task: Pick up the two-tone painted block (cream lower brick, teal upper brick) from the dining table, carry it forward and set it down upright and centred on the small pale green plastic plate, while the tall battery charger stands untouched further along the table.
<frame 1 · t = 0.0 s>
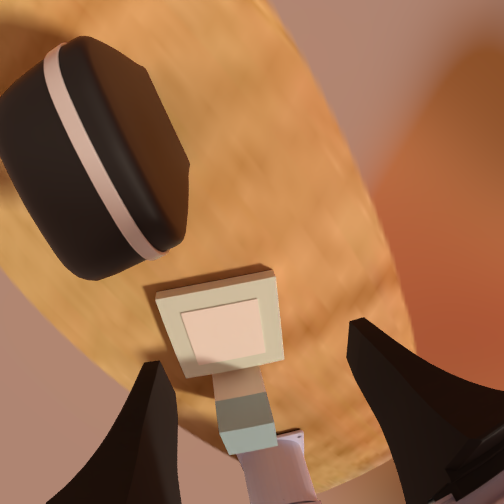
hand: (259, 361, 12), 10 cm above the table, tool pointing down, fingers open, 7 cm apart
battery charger: (138, 129, 16), on the table
plate: (224, 326, 23), on the table
brick stack: (239, 383, 27), on the table
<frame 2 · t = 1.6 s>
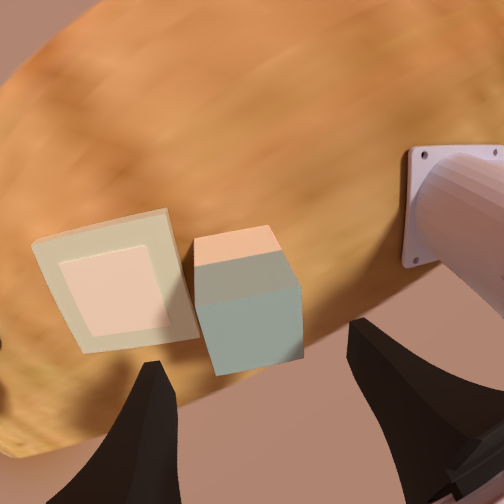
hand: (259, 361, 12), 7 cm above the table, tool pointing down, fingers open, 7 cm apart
plate: (118, 286, 17), on the table
brick stack: (236, 263, 18), on the table
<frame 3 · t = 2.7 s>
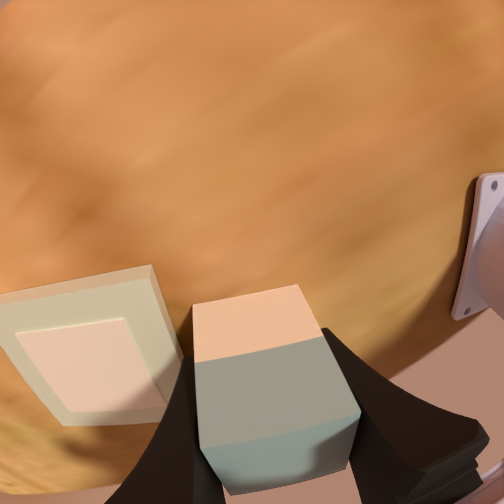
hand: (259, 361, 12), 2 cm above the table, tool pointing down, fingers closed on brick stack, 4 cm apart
plate: (95, 358, 12), on the table
brick stack: (252, 333, 13), on the table, touching gripper
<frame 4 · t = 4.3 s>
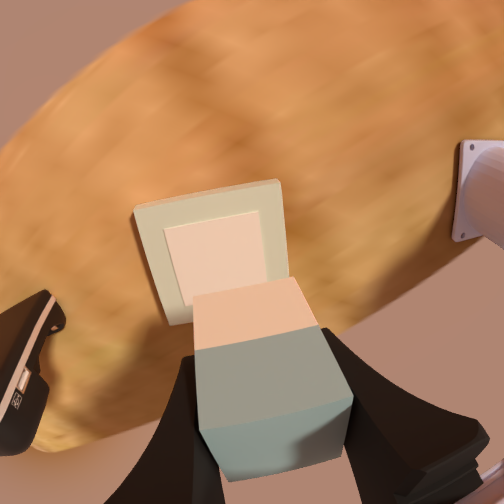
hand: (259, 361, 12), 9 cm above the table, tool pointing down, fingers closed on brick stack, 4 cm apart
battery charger: (36, 318, 20), on the table
plate: (217, 254, 19), on the table
brick stack: (250, 325, 13), point 7 cm above the table, touching gripper
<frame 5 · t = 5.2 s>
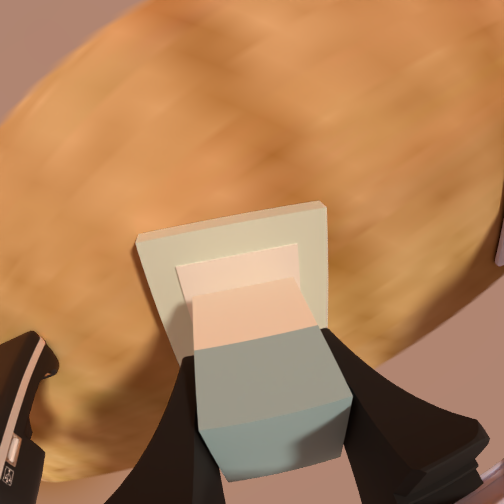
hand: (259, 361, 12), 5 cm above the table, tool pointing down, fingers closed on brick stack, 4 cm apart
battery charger: (25, 358, 16), on the table
plate: (242, 292, 16), on the table
brick stack: (249, 325, 13), point 2 cm above the table, touching gripper
when the fingers open (4 cm above the table, at t = 5.8 s): brick stack stays where it is, resting on plate.
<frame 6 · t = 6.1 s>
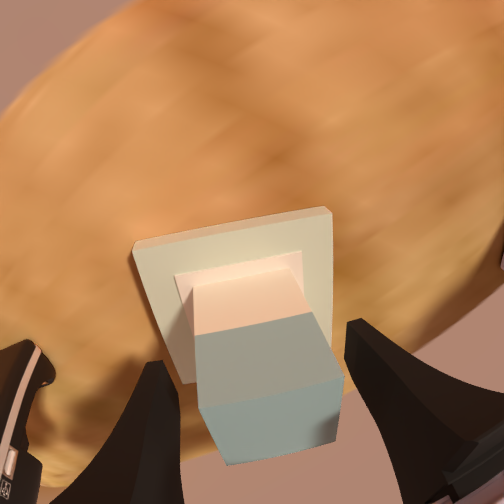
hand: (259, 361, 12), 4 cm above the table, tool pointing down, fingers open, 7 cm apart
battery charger: (21, 366, 15), on the table
plate: (244, 301, 15), on the table
brick stack: (248, 315, 14), point 1 cm above the table, touching plate
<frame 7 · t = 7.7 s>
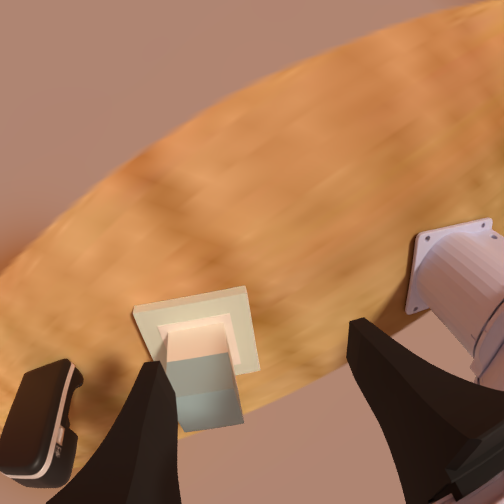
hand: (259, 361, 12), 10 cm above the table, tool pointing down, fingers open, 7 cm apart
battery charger: (58, 375, 24), on the table
plate: (200, 338, 24), on the table
brick stack: (201, 347, 23), point 1 cm above the table, touching plate
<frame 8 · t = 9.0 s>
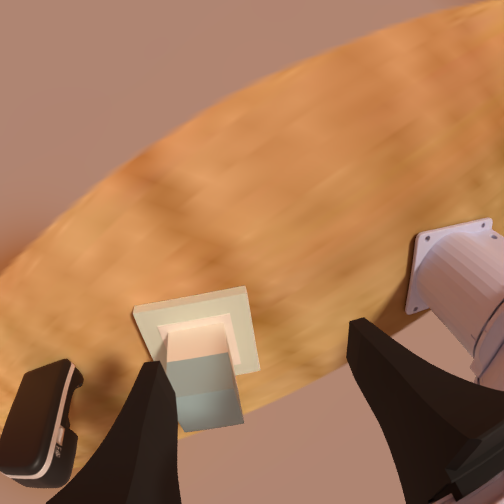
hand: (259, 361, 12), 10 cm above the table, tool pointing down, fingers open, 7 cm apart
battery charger: (58, 375, 24), on the table
plate: (200, 338, 24), on the table
brick stack: (201, 347, 23), point 1 cm above the table, touching plate
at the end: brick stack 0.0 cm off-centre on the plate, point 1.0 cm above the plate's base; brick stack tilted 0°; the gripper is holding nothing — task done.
